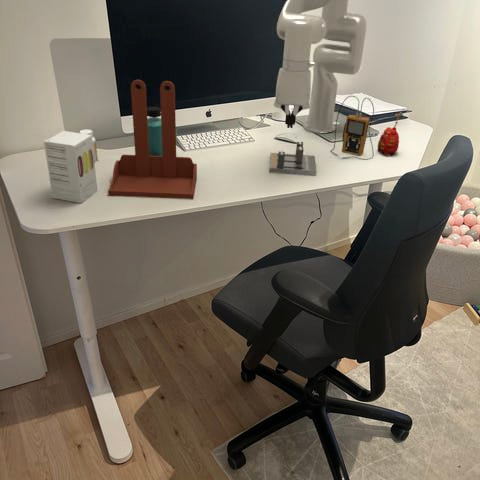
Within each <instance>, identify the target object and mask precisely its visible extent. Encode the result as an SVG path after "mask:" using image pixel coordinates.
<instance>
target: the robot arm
mask: <svg viewBox="0 0 480 480" xmlns="http://www.w3.org/2000/svg"><path fill="white" fill-rule="evenodd" d="M348 2H349V0H286V1H285V2H284V5H283V7H282V10H281V11H280V14H279V16H278V21H277V24H276V34H277V36H278V38H279V39H281V40H283V41H284V45H283V46H284V49H283V59H282V67H280V68H279V71H278V74H277V78H276V79H277V80H276V87H275V100H274V104H273V107H274V108H278V109H281V110H282V112H284V114H285V120H284V124H285V125H286V128H287V129H289V128H291V129H293V126H295V125H296V120H297V118H296V117H297V115H298V114H299V113H300V112H302V111H304V110H309V111H308V117H307V118H308V120H307V121H305V122H304V123H303V125H302V126H303V130H305V131H307V132H309V133H314V134H319V133H320V132H330V131H333V130H335V128H336V129H337V125H336V124H333V122H334V114H335V108H336V99H337V94H338V93H337V92H338V80H337V78H336V76H335V74H341V75H342V74H343V75H351V76H352V75H356V74H357V73H359V70H360V67H361V64H362V60H363V52H364V47H365V46H364V45H365V39H366V34H367V33H366V32H367V31H366V30H367V21H366V18H365V16H364V15H362V14H358V13H349V12H348V5H349V4H348ZM320 8H322V10H321V16H318V15H313V14H303V13H306V12H309V11H314V10H318V9H320ZM322 40H327V41H330V42H339V43H347V44H349V46H348V45H342V44H341V45H340V44H334V43H333V44H332V43H321V44H319V43H320V42H322ZM316 44H319V45H317V46H316V47H315V48H314V51H313V54H312V61H311V60H310V59H311V50H312V49H311V48H312V45H316ZM310 68H312V70H313V71H312V72H313V74H312V72H311V70H310ZM290 106H293V109H292V110H291V111H290Z"/></svg>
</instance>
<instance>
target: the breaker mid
mask: <svg viewBox="0 0 480 480" xmlns="http://www.w3.org/2000/svg"><path fill="white" fill-rule="evenodd" d="M295 154H296V153H295ZM303 155H304V146H303V147H297V154H296V163H302V160H303Z"/></svg>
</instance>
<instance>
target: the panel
mask: <svg viewBox="0 0 480 480" xmlns="http://www.w3.org/2000/svg"><path fill="white" fill-rule="evenodd" d="M277 163H278V152H270V157H269V169H268V173H269V174H270V173H271V174H285V175H296V174H297V176H298V175H299V176H300V175H301V176H311V177H313V176H314V177H316V176H317V172H318V171H317V164H316V156H315V155H309V154H307V155H306V154H303V160H302V163H296V153H285V158H284V168H280V167H277Z"/></svg>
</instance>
